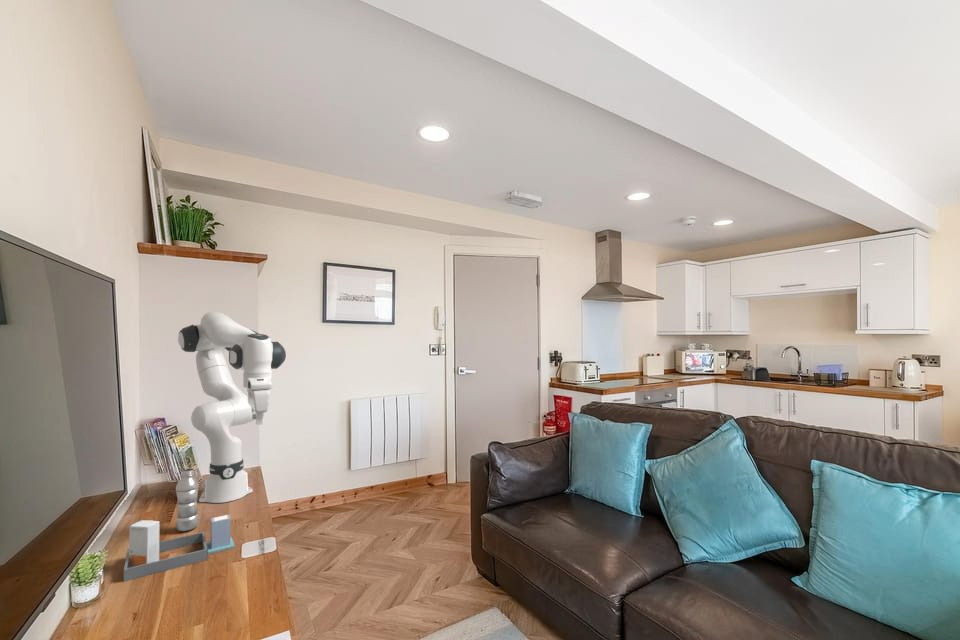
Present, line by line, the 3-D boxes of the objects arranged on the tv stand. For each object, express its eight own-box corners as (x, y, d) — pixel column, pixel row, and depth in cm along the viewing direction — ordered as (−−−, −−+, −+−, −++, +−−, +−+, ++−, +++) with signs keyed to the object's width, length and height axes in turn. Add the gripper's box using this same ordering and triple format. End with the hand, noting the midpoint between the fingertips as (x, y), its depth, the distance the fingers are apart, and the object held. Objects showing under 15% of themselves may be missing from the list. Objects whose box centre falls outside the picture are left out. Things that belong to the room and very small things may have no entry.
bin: (127, 559, 131) (127, 548, 131) (204, 540, 142) (204, 531, 142) (123, 581, 119) (123, 570, 119) (207, 559, 130) (207, 549, 130)
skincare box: (128, 568, 126) (128, 525, 126) (141, 560, 130) (142, 519, 130) (147, 570, 125) (147, 527, 125) (160, 562, 129) (160, 520, 129)
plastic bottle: (202, 528, 151) (203, 469, 151) (180, 535, 145) (181, 474, 146) (193, 523, 155) (194, 465, 155) (171, 531, 149) (172, 471, 149)
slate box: (210, 543, 139) (210, 517, 139) (228, 539, 141) (229, 514, 142) (211, 549, 135) (211, 522, 135) (230, 544, 138) (230, 518, 138)
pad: (206, 545, 139) (206, 543, 139) (231, 538, 143) (231, 537, 143) (208, 554, 133) (207, 552, 133) (234, 547, 137) (234, 545, 137)
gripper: (243, 378, 159) (242, 417, 159) (251, 385, 142) (250, 428, 142) (263, 377, 163) (262, 415, 163) (272, 384, 146) (272, 426, 146)
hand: (257, 421), depth 152 cm, fingers open, 8 cm apart
